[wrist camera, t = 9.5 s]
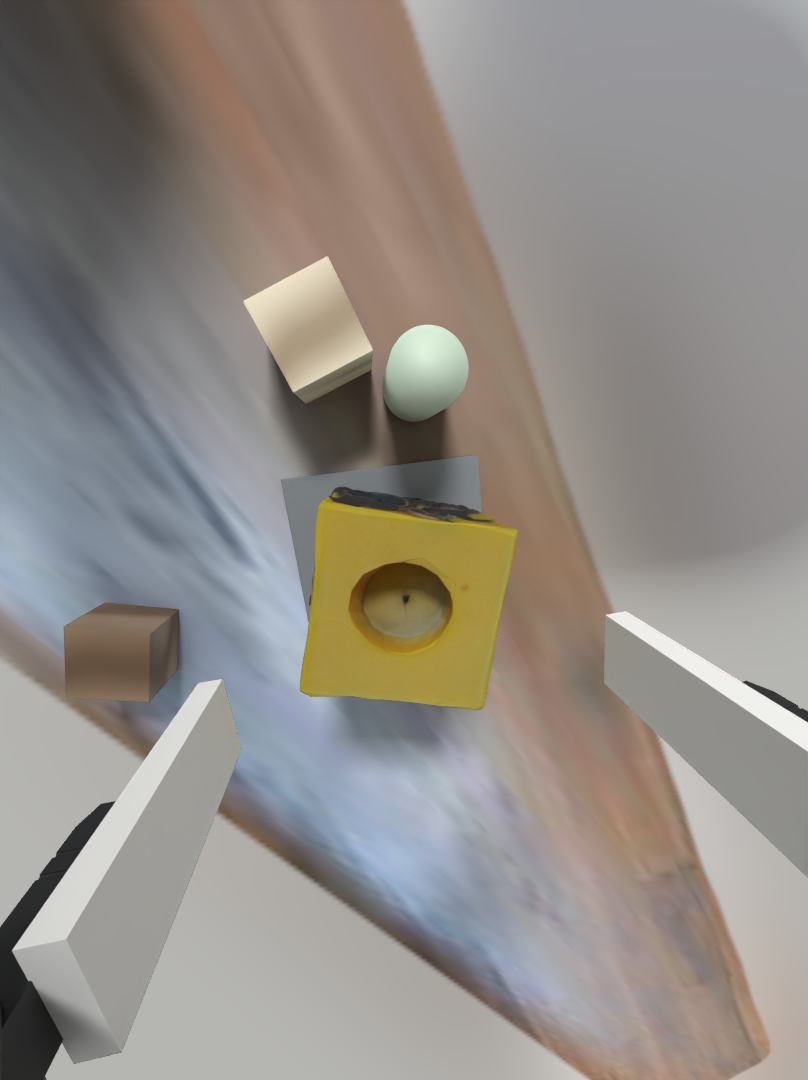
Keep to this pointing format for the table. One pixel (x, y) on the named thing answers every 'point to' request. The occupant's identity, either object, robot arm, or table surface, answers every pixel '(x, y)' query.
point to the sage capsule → (424, 373)
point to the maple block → (312, 331)
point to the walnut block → (121, 652)
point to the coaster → (413, 480)
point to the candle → (404, 599)
